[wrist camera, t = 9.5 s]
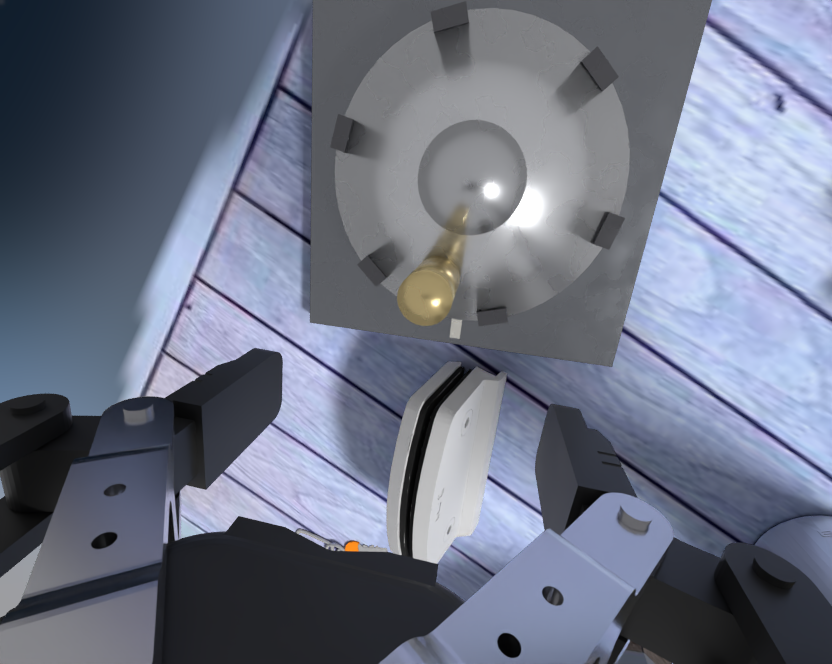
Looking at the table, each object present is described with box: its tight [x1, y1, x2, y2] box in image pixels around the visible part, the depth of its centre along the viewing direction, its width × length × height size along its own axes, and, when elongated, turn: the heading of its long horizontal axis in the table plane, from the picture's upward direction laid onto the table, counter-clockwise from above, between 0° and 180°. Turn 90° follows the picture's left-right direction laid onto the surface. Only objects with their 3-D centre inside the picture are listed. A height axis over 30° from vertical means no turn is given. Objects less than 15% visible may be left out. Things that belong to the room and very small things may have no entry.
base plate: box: [310, 0, 712, 367], centre depth 29 cm, size 24×24×2 cm
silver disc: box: [330, 1, 630, 326], centre depth 24 cm, size 18×19×9 cm
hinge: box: [387, 361, 507, 564], centre depth 34 cm, size 17×5×10 cm, turn 174°
